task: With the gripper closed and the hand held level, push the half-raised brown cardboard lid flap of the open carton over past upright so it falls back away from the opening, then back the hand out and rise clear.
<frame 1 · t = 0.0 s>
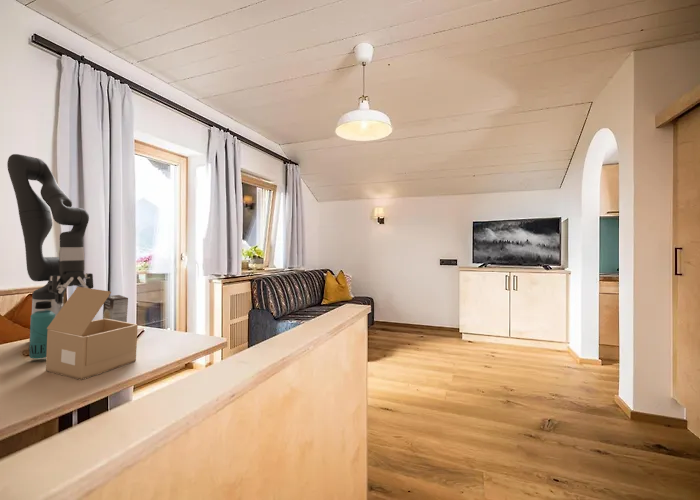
hand: (72, 301, 129), 17 cm above the table, tool pointing down, fingers open, 8 cm apart
beverage bottle: (41, 360, 115), on the table
carton flap: (79, 310, 108), point 20 cm above the table, hinge at 55.0°
carton: (93, 365, 113), on the table
coffee box: (114, 333, 150), on the table
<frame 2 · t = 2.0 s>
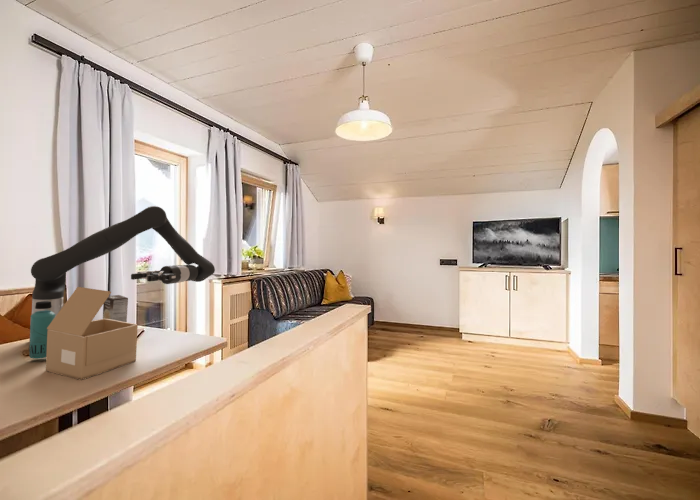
hand: (139, 277, 127), 28 cm above the table, tool horizontal, fingers open, 7 cm apart
nothing on the table moved.
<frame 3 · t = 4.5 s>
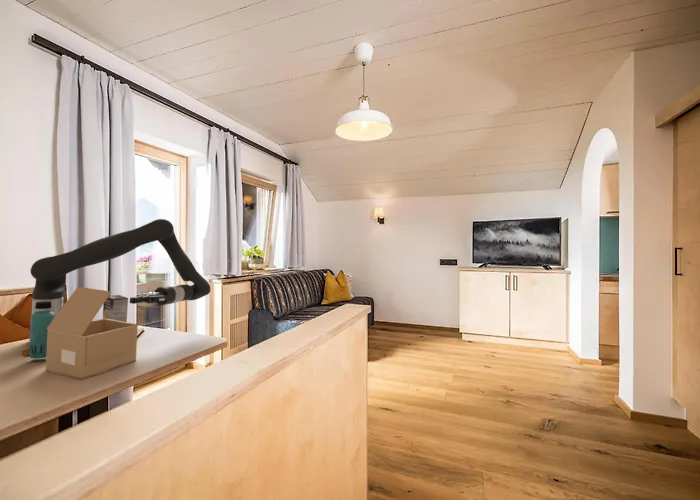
hand: (131, 300, 125), 20 cm above the table, tool horizontal, fingers closed
nothing on the table moved.
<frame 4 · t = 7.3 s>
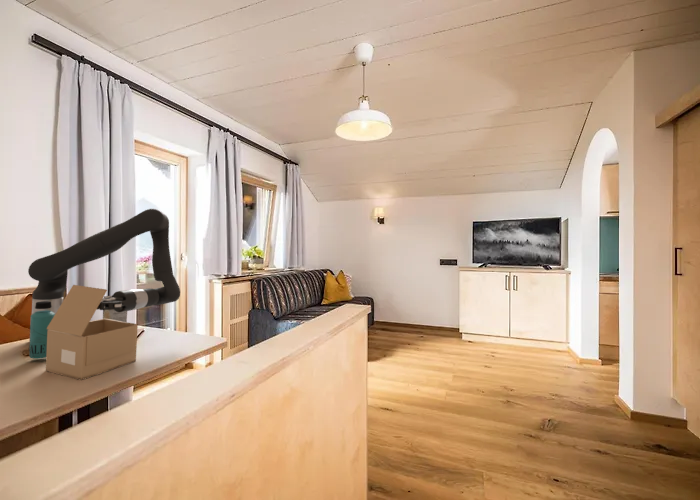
hand: (80, 307, 108), 20 cm above the table, tool horizontal, fingers closed
carton flap: (77, 309, 107), point 20 cm above the table, hinge at 61.3°, touching gripper
everything else where it was.
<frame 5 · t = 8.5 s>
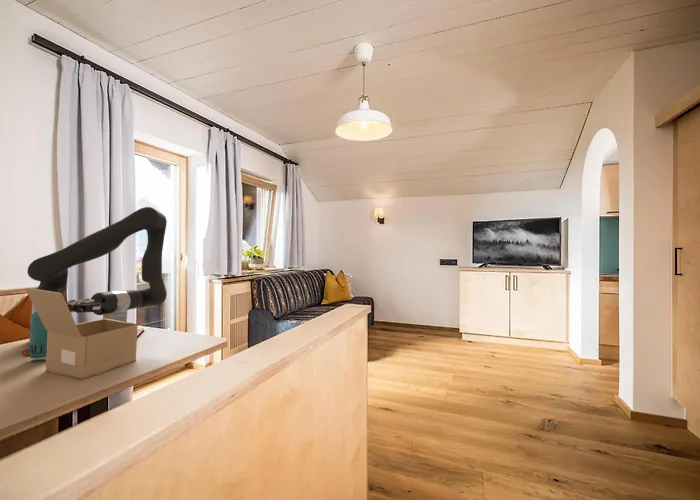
hand: (54, 309, 101), 21 cm above the table, tool horizontal, fingers closed
carton flap: (53, 312, 101), point 20 cm above the table, hinge at 113.0°, touching gripper
everything else where it was.
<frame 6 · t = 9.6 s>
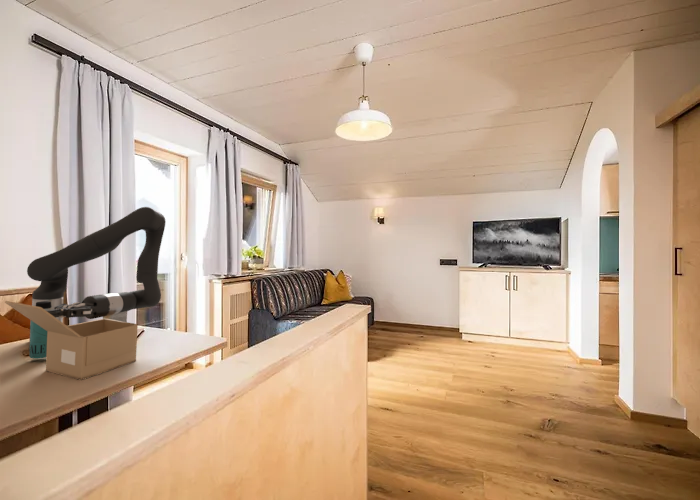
hand: (43, 315, 98), 20 cm above the table, tool horizontal, fingers closed
carton flap: (44, 319, 99), point 18 cm above the table, hinge at 135.2°, touching gripper
everything else where it was.
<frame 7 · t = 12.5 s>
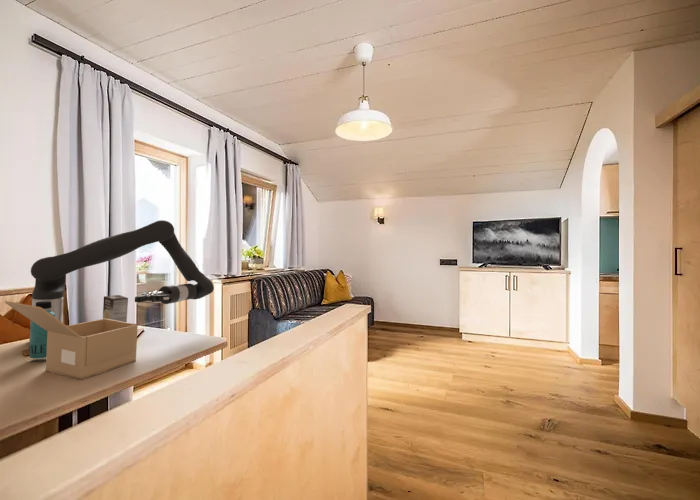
hand: (136, 299, 127), 20 cm above the table, tool horizontal, fingers closed
carton flap: (43, 319, 99), point 18 cm above the table, hinge at 135.2°
everything else where it was.
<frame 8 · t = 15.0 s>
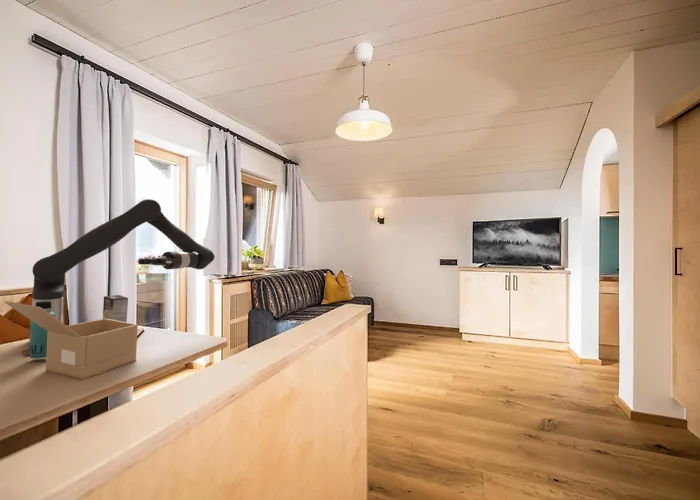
hand: (139, 261, 130), 34 cm above the table, tool horizontal, fingers closed
nothing on the table moved.
at the end: carton flap at +135° (first picture: +55°) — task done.
